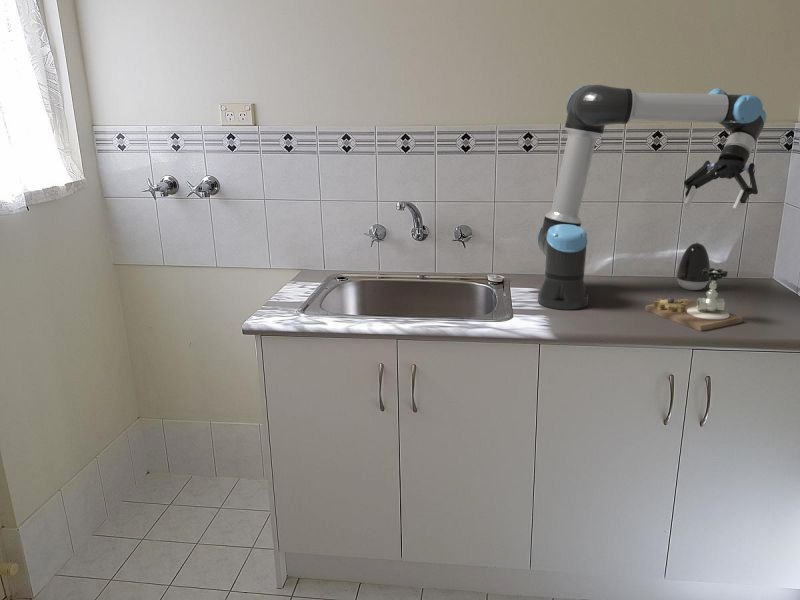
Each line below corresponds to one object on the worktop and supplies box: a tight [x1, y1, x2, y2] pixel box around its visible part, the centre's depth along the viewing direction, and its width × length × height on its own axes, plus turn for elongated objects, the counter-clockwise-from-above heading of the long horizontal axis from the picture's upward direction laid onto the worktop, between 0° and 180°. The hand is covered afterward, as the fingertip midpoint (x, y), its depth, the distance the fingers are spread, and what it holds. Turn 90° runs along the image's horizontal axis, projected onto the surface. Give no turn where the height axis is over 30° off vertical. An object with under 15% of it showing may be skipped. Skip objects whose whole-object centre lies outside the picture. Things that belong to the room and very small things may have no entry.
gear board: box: [644, 297, 744, 332], centre depth 184 cm, size 20×16×4 cm
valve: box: [696, 267, 729, 312], centre depth 180 cm, size 7×7×12 cm
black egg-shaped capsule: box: [675, 242, 711, 291], centre depth 209 cm, size 10×10×15 cm
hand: (709, 208), depth 184 cm, fingers open, 13 cm apart
